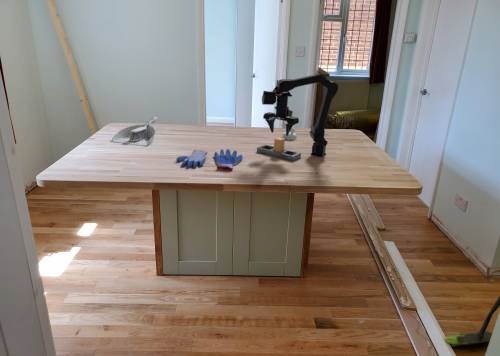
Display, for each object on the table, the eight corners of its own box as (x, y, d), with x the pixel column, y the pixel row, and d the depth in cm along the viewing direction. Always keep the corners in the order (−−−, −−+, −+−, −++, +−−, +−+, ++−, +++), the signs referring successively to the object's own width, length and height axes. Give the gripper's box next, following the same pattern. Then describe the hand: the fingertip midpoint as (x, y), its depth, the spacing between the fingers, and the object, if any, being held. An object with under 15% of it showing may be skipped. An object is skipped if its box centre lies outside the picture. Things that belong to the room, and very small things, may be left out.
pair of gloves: (172, 168, 186) (171, 161, 184) (184, 152, 209) (184, 145, 208) (238, 173, 184) (238, 165, 182) (243, 156, 208) (243, 149, 206)
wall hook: (286, 120, 246) (300, 123, 241) (285, 134, 250) (298, 137, 244) (279, 122, 240) (293, 125, 235) (278, 137, 244) (291, 140, 238)
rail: (300, 157, 208) (301, 153, 207) (293, 161, 201) (293, 156, 201) (264, 148, 220) (265, 144, 219) (256, 151, 214) (257, 147, 213)
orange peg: (283, 154, 211) (284, 138, 208) (279, 156, 208) (280, 140, 205) (277, 153, 213) (278, 137, 210) (273, 154, 210) (274, 138, 207)
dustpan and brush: (110, 142, 219) (108, 126, 216) (140, 128, 249) (139, 114, 246) (147, 147, 214) (146, 130, 211) (173, 132, 244) (173, 118, 240)
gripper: (305, 105, 202) (302, 134, 208) (275, 100, 212) (273, 128, 218) (294, 108, 193) (291, 138, 199) (263, 102, 203) (261, 131, 209)
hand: (279, 134), depth 206 cm, fingers open, 9 cm apart
